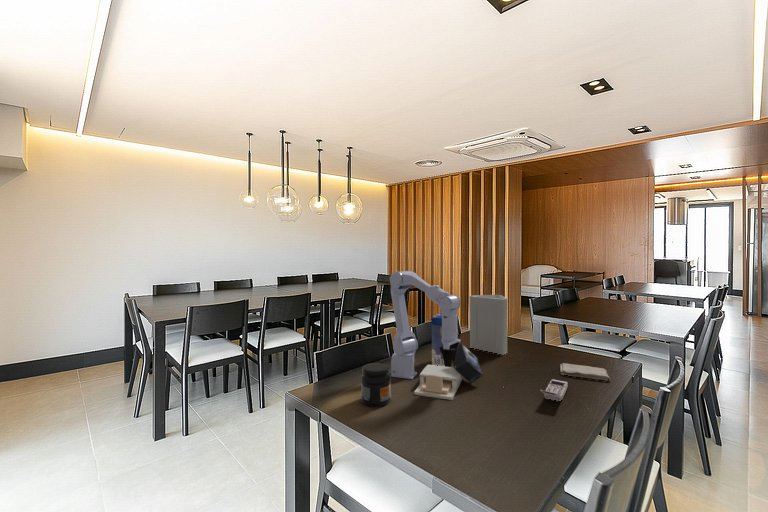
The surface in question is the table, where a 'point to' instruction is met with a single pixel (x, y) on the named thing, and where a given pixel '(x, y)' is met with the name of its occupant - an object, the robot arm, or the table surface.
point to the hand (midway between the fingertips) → (449, 363)
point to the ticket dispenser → (447, 374)
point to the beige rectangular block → (436, 384)
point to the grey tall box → (488, 323)
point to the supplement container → (375, 384)
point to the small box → (467, 364)
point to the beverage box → (437, 340)
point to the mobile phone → (555, 390)
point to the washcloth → (584, 371)
